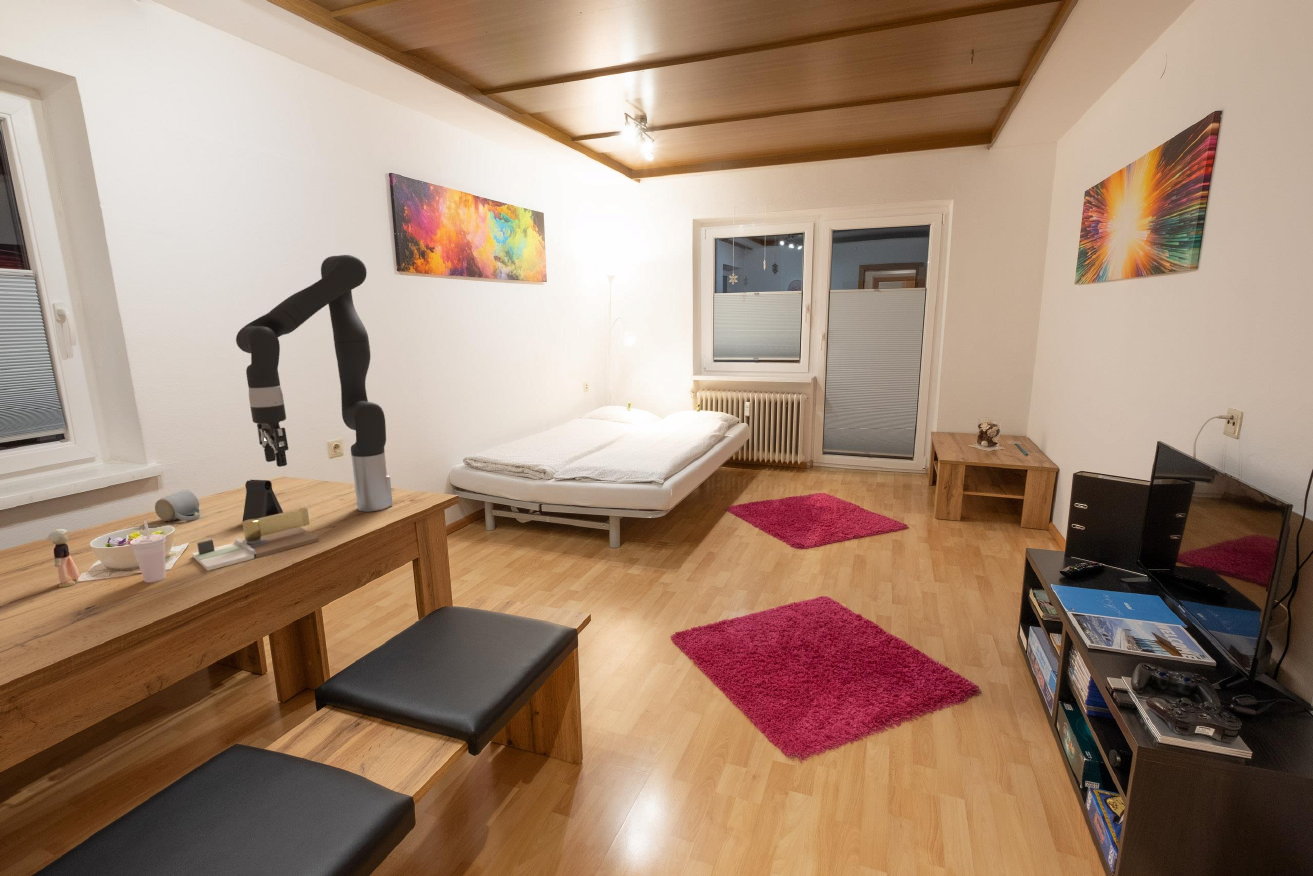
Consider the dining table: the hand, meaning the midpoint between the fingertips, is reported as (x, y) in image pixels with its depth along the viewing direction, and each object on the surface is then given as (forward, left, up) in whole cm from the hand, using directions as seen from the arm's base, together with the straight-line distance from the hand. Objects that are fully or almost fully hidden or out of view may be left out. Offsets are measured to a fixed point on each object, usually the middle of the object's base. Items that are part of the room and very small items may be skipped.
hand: (276, 463), depth 161 cm
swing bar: (+3, +5, -17) cm, 18 cm away
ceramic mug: (+15, -39, -20) cm, 46 cm away
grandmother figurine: (+43, -4, -20) cm, 48 cm away
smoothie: (+30, +9, -20) cm, 37 cm away
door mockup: (+9, +6, -20) cm, 23 cm away
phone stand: (0, -18, -20) cm, 27 cm away
